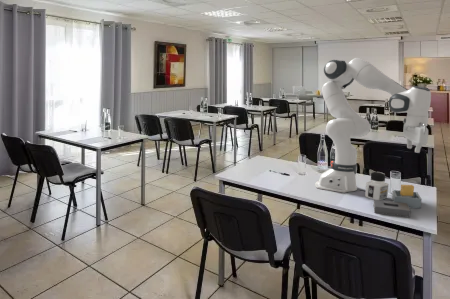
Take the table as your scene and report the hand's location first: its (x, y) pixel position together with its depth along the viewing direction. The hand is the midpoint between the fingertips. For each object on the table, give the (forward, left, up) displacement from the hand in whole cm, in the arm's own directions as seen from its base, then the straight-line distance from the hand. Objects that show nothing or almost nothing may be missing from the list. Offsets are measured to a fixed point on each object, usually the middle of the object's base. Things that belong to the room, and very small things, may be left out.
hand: (413, 150), depth 162 cm
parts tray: (-1, -3, -26) cm, 26 cm away
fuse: (-1, -3, -25) cm, 25 cm away
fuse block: (-9, -17, -26) cm, 32 cm away
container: (-14, +1, -26) cm, 30 cm away
